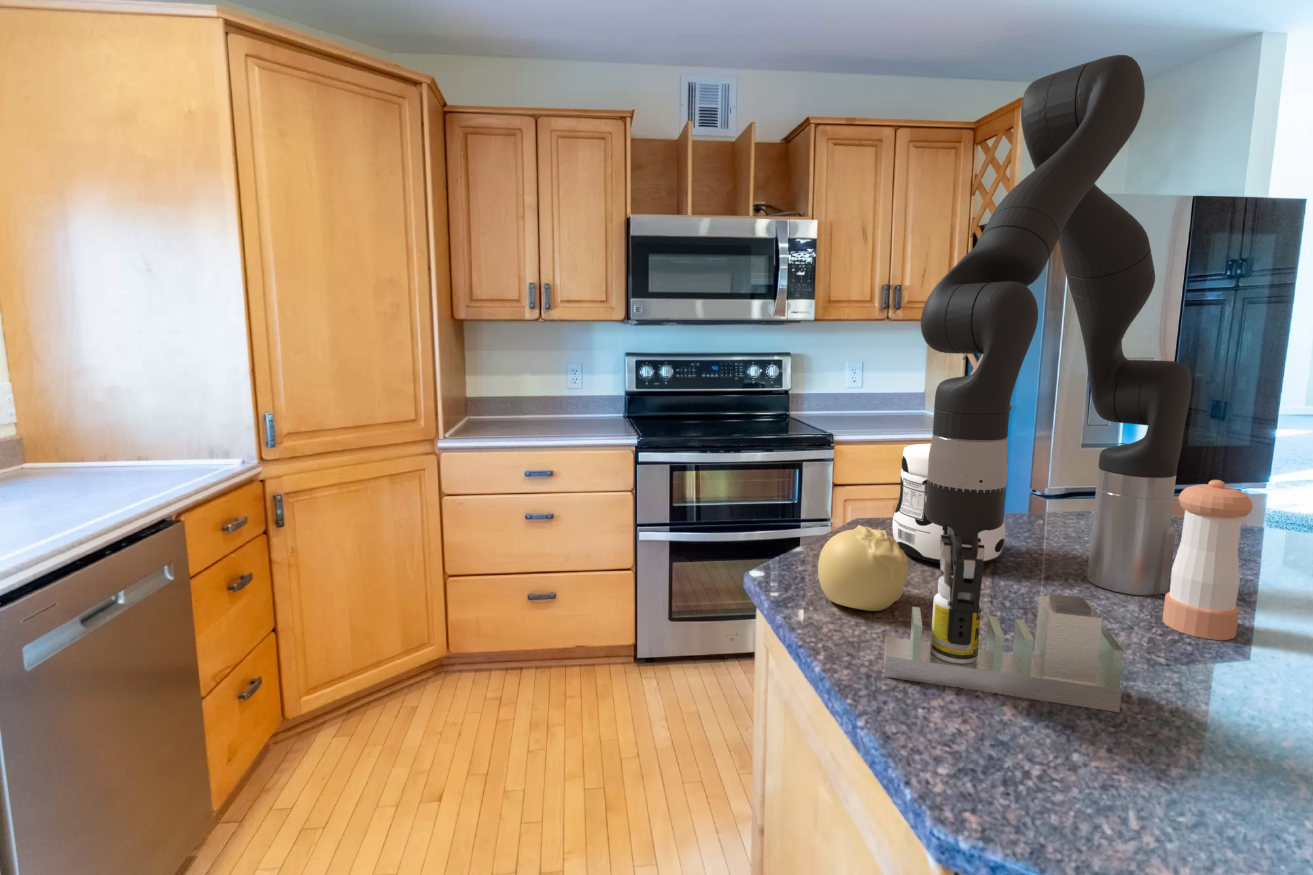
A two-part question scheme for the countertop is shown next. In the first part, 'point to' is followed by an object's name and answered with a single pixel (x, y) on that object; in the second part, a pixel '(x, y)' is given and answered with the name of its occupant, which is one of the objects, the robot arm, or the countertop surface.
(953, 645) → the supplement bottle
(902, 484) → the milk container
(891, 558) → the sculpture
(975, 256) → the robot arm
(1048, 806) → the countertop surface
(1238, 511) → the salt shaker
